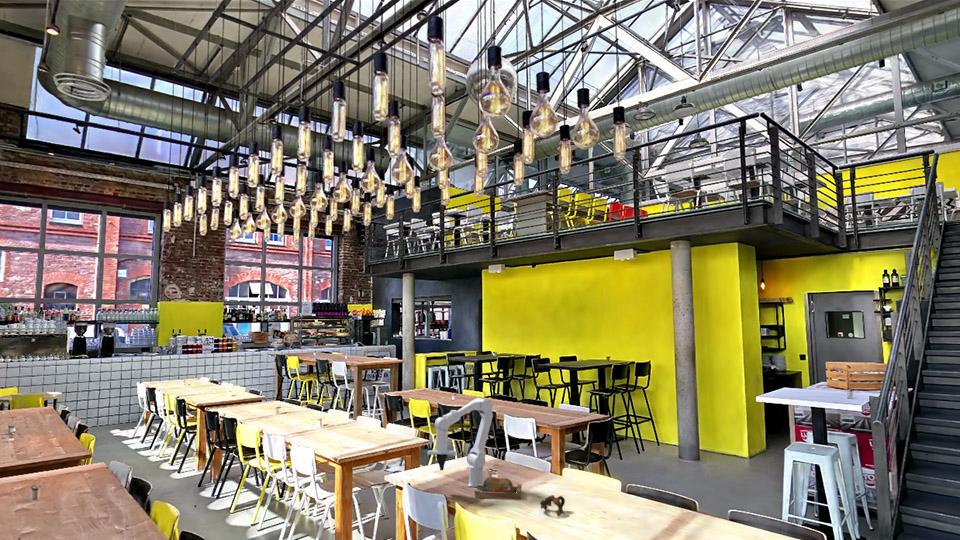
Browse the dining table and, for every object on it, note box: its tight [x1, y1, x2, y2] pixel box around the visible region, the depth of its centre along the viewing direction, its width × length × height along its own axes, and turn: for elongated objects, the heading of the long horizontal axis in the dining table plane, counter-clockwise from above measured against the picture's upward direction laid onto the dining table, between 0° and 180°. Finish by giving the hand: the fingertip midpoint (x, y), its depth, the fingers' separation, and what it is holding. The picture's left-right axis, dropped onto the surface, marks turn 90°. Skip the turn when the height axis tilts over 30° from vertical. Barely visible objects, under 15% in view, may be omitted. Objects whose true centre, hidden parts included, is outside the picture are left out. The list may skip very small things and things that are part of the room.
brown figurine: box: [539, 494, 566, 517], centre depth 234 cm, size 12×10×8 cm
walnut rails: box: [474, 483, 523, 500], centre depth 258 cm, size 11×22×4 cm, turn 83°
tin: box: [483, 476, 514, 492], centre depth 258 cm, size 15×3×8 cm, turn 65°
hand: (441, 469), depth 265 cm, fingers closed
